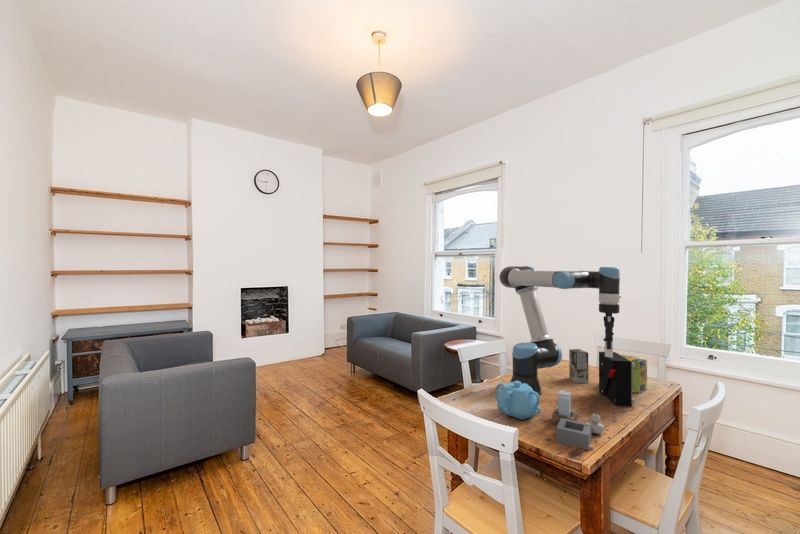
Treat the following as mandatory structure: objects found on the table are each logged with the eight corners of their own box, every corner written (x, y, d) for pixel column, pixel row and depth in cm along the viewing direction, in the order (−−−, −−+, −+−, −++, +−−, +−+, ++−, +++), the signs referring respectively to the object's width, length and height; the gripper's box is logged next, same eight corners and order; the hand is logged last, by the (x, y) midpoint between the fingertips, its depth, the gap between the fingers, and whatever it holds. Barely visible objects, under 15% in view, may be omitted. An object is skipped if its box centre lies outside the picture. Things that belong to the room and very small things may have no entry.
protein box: (640, 393, 172) (640, 361, 172) (606, 385, 184) (606, 355, 184) (647, 389, 178) (647, 358, 178) (614, 381, 190) (614, 352, 190)
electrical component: (636, 407, 155) (636, 361, 155) (611, 405, 157) (611, 360, 157) (620, 393, 172) (620, 352, 172) (597, 392, 174) (597, 351, 175)
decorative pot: (500, 421, 141) (500, 387, 141) (494, 405, 157) (494, 375, 157) (542, 423, 139) (542, 389, 139) (532, 407, 155) (532, 376, 155)
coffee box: (589, 383, 188) (588, 352, 188) (576, 383, 188) (576, 352, 188) (580, 377, 197) (580, 348, 197) (568, 377, 197) (568, 348, 197)
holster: (551, 424, 138) (551, 414, 138) (555, 417, 145) (555, 407, 145) (574, 429, 134) (574, 419, 134) (577, 421, 140) (577, 411, 140)
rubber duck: (585, 433, 131) (585, 411, 131) (590, 427, 136) (590, 406, 136) (601, 437, 127) (601, 415, 127) (606, 431, 132) (606, 410, 132)
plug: (558, 423, 139) (557, 393, 139) (559, 420, 142) (559, 390, 142) (569, 426, 136) (569, 395, 137) (571, 422, 140) (570, 392, 140)
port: (556, 442, 124) (556, 426, 124) (561, 431, 133) (561, 416, 133) (588, 450, 119) (588, 434, 119) (591, 438, 127) (591, 423, 127)
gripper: (620, 306, 137) (620, 361, 137) (618, 301, 159) (617, 348, 159) (598, 305, 141) (598, 358, 141) (599, 300, 163) (598, 346, 163)
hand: (608, 353), depth 150 cm, fingers open, 13 cm apart
